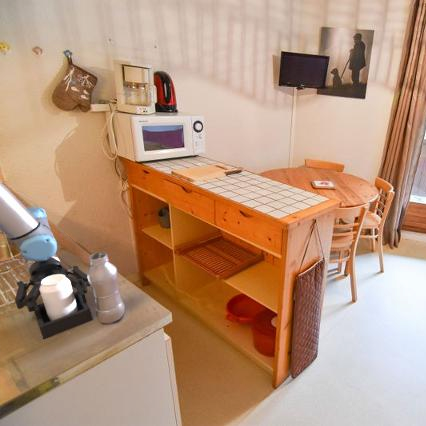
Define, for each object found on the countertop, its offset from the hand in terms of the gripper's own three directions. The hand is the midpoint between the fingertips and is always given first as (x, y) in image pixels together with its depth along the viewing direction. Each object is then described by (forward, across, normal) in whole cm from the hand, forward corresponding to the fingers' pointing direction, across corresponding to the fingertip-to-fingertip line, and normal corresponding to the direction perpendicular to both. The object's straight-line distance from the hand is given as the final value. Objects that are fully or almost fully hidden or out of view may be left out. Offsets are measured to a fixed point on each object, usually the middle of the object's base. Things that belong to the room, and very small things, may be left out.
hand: (62, 306), depth 80 cm
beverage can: (-5, 0, -6) cm, 8 cm away
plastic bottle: (+3, -9, -7) cm, 12 cm away
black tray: (-5, 0, -7) cm, 8 cm away
